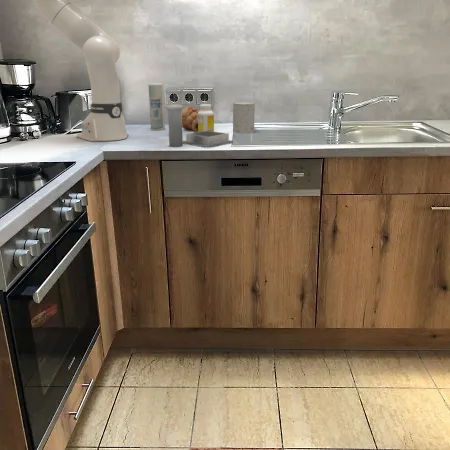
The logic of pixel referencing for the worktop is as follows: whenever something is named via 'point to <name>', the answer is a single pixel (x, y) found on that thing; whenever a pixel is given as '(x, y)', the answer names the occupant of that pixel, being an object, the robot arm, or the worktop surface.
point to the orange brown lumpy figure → (190, 118)
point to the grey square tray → (207, 139)
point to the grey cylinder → (243, 117)
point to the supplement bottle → (205, 118)
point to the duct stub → (175, 125)
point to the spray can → (156, 106)
